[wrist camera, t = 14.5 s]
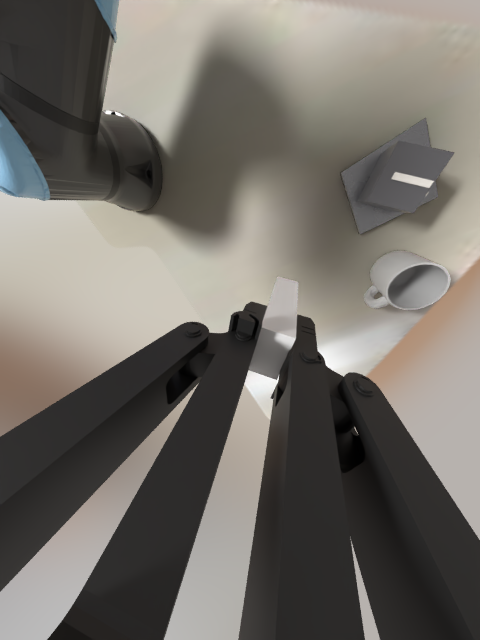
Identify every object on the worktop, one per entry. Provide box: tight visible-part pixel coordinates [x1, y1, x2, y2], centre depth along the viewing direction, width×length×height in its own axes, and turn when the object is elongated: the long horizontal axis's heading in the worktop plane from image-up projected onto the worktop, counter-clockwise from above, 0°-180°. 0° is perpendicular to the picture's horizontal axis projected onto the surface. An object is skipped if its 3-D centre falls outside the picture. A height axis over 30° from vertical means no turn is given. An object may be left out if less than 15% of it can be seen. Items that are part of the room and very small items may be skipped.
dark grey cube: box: [357, 141, 454, 213], centre depth 25 cm, size 6×6×6 cm
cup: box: [364, 250, 451, 310], centre depth 31 cm, size 7×10×9 cm
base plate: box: [340, 118, 438, 234], centre depth 26 cm, size 10×10×4 cm
